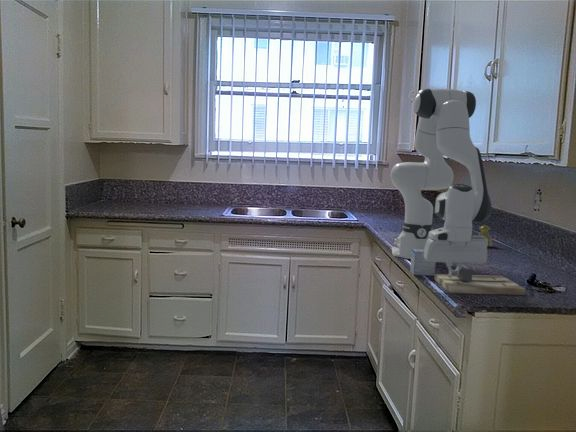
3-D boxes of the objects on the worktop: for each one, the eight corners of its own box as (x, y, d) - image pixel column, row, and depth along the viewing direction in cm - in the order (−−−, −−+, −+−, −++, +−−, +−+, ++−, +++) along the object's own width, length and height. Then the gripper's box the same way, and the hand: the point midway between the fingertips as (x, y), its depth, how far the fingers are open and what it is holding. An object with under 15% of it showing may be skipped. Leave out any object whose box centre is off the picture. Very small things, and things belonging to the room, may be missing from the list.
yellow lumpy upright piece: (492, 248, 240) (494, 227, 238) (475, 247, 241) (477, 226, 240) (489, 245, 247) (491, 224, 246) (473, 244, 248) (475, 223, 247)
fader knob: (456, 276, 172) (458, 265, 172) (465, 277, 172) (466, 265, 172) (462, 280, 167) (463, 268, 167) (471, 281, 167) (472, 268, 167)
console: (433, 279, 178) (434, 273, 177) (501, 281, 179) (502, 275, 179) (450, 292, 162) (450, 286, 162) (524, 294, 163) (525, 288, 163)
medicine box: (431, 273, 187) (433, 249, 186) (434, 276, 182) (437, 252, 181) (409, 272, 187) (411, 248, 185) (413, 275, 182) (414, 251, 181)
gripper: (484, 233, 171) (480, 274, 173) (424, 231, 170) (420, 272, 172) (492, 237, 165) (488, 279, 167) (429, 234, 164) (426, 277, 166)
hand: (453, 275), depth 169 cm, fingers closed
